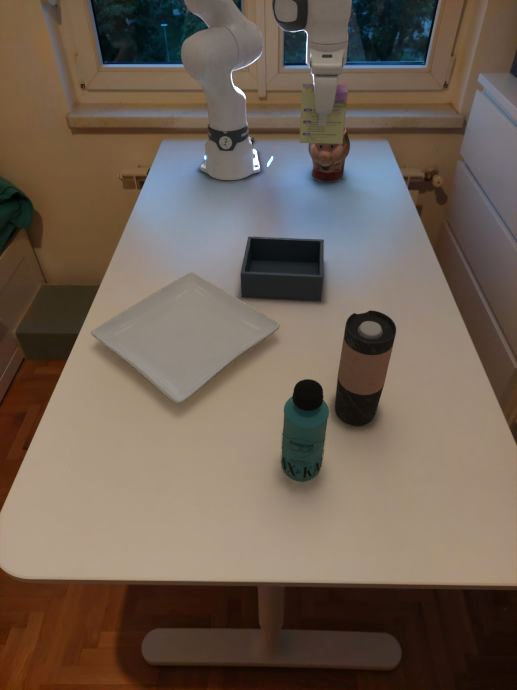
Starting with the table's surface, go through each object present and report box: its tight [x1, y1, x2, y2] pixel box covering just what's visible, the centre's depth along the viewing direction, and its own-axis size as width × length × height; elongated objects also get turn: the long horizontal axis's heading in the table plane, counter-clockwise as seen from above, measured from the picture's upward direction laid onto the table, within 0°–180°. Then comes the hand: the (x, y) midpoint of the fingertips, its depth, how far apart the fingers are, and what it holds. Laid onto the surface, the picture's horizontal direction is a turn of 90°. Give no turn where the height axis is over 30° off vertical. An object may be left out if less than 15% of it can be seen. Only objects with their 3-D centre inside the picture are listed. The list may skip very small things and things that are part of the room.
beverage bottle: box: [279, 378, 330, 483], centre depth 73 cm, size 6×7×20 cm
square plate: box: [90, 272, 281, 405], centre depth 100 cm, size 27×27×4 cm
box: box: [299, 83, 349, 144], centre depth 118 cm, size 10×6×12 cm, turn 85°
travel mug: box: [334, 309, 397, 427], centre depth 81 cm, size 8×8×20 cm
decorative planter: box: [307, 126, 351, 183], centre depth 149 cm, size 20×12×14 cm, turn 173°
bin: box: [240, 236, 325, 303], centre depth 114 cm, size 15×18×7 cm
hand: (322, 119), depth 119 cm, fingers closed on box, 5 cm apart
